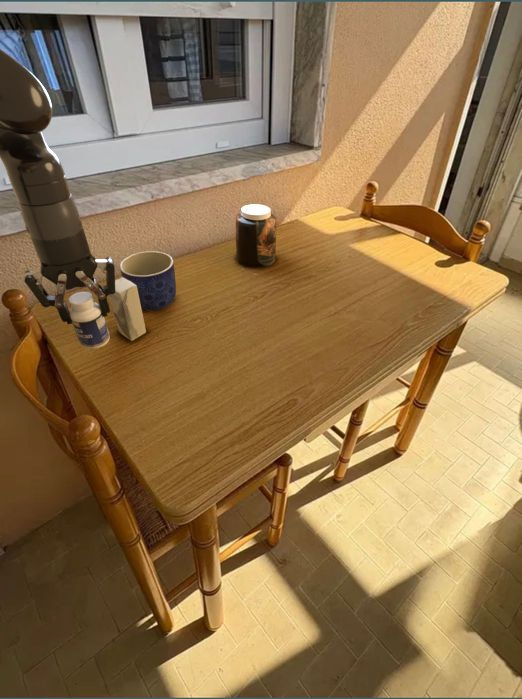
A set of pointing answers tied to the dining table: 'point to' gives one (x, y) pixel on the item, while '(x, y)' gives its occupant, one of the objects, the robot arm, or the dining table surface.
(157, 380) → the dining table surface
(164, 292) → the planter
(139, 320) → the box
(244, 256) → the jar
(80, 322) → the pill bottle
